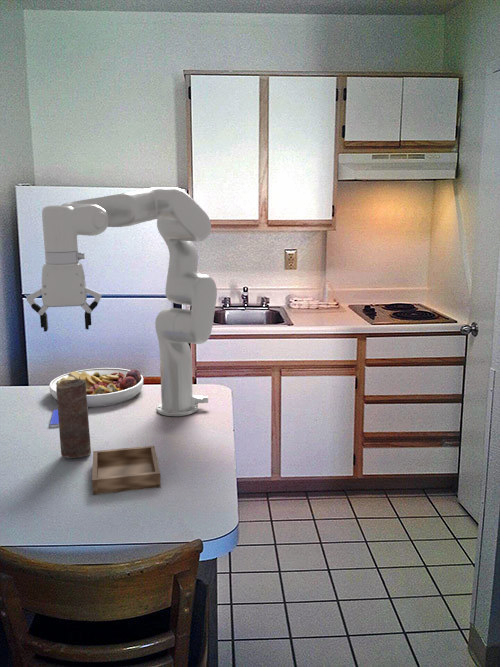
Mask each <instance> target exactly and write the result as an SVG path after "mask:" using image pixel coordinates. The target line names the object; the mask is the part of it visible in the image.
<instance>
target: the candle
mask: <svg viewBox="0 0 500 667" xmlns="http://www.w3.org/2000/svg"><path fill="white" fill-rule="evenodd" d="M56 391H57V400H56V401H57V410H58V417H59V427H58V432H59V445H60V454H61V457H63V458H69V459H77V458H78V459H79V458H83V457H88V456H89V455H91V454H92V449H91V434H90V423H89V422H90V421H89V410H88V408H89V407H87V394H86V381H85V380H84V379H74V380H63V381H61V382H60V383H59V384H58V385H57V386H56Z"/></svg>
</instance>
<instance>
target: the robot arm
mask: <svg viewBox="0 0 500 667" xmlns="http://www.w3.org/2000/svg"><path fill="white" fill-rule="evenodd" d="M41 217H42V220H41V221H42V232H43V233H42V234H43V246H44V258H45V259H44V260H45V264H43V265H42V269H41V288H40V289H38V290H36V291H34V292H33V293H31V294H29V295H27V296H26V297H25V298H26V301H27V303H28V304H29V306H30V307H31V309H32V310H33V311H35V312H36V313H37V314H38V315H39V319H40V321H39V322H40V328H41V329H42V328H43V332H46V333H47V331H48V330H49V322H48V314H47V313H46V312H47V310H48V309H49V308H63V307H64V308H66V307H69V308H70V307H81V308H82V309H83V310H84V327H85V330H90V328H89V327H90V326H92V312H93V311H94V310H95V309H96V308H97V306H98V305H99V303H100V301H101V299H102V293H101V292H99V291H96V290H93V289H91V288H89V287H87V285H86V277H85V272H84V271H85V270H84V267H83V264H82V263H81V262H80V261H82V260H85V258H86V257H85V253H81V252H79V249H78V247H79V246H78V236H89V237H91V236H93V237H94V236H99V235H100V234H102V233H103V232H105V231H106V230H107V228H124V227H130V226H135V225H139V224H141V223H146V222H149V221H154V220H156V227H157V230H158V233H159V234H160V236H161V238H162V239H163V240H164V242H165V244H166V246H167V250H168V252H169V258H168V259H169V260H168V268H167V276H166V283H165V291H164V292H165V297H166V299H167V300H168V301H169V302H171V303H172V304H178V305H184V306H191V309H184V308H177V307H168V308H164V309H162V310H160V311H159V313H158V314H157V315H156V318H155V322H154V323H155V324H154V325H155V332H156V336H157V340H158V347H159V348H158V349H159V363H160V364H159V365H160V368H159V369H160V370H159V371H160V395H161V398H160V399H161V402H159V404H157V405H156V411H157V413H158V414H159V415H162V416H167V417H185V416H189V415H191V414H194V413H196V412H197V411H198V409H199V404H208V403H209V397H208V396H203V395H196V394H194V390H193V365H192V363H193V359H192V358H193V357H192V356H193V354H192V349H191V347H190V345H189V344H192V345H193V344H196V345H202V344H204V343H206V342H207V341H208V339H209V338H210V337H211V335H212V334H211V333H212V331H213V325H214V319H215V318H214V317H215V314H216V313H215V312H216V305H217V298H218V297H217V296H218V290H217V289H218V288H217V284H216V282H215V280H214V278H212V276H210V275H207V274H202V273H198V266H199V255H198V250H197V248H196V246H195V244H194V243H195V242H202V241H205V240H207V238H209V236H210V235H211V231H212V222H211V220H210V219H211V218H210V217H209V216H208V213H206V211H205V210H204V209H203V208H202V207H201V206H200V204H198V203H197V202H196V201H195V199H193V197H191V196H190V195H189V194H188V193H187V192H186V191H184V190H183V189H181V188H179V187H172V186H171V187H161V186H160V187H159V186H155V187H149V188H148V187H147V188H144V189H142V188H141V189H138V190H134V191H129V192H124V193H117V194H112V195H105V196H100V197H95V198H94V197H93V198H86V199H81V200H76V201H71V202H65V203H62V204H61V205H48V206H47V205H46V206H45V207H43V208H42V210H41ZM193 242H194V243H193ZM79 262H80V263H79ZM88 295H90V296H92V297H94V299H93V301H91V303H90V304H89V303H88V302H87V299H88V297H87V296H88ZM40 296H41V299H42V300H41V301H42V302H41V303H42V306H40V305H39V304H38V303H37V302H36V300H35V299H37V298H38V297H40Z"/></svg>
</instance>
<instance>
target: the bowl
mask: <svg viewBox="0 0 500 667" xmlns="http://www.w3.org/2000/svg"><path fill="white" fill-rule="evenodd" d="M74 379H84V380H85V381H86V394H87V408H99V407H100V408H101V407H108V406H114V405H118V404H120V403H121V404H122V403H125V402H126V401H129V400H132V399H133V398H134V397H136V396H137V395H138V394H139V393H140V392H141V390H142V389H143V386H144V377H143V375H142V374H141V372H140V371H139V370H137V369H125V368H118V367H115V368H114V367H99V368H88V369H80V370H76V371H75V370H74V371H71V372H68V373H64V374H61V375H58V376H56V377H55V378H54V379H53V380H52V379H51V381H50V383H49V392H50V394H51V396H52V397H53V399H55V400H56V401H57V391H56V386H57V385H58V384H59V383H60V382H61V381H63V380H74Z"/></svg>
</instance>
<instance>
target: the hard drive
mask: <svg viewBox="0 0 500 667" xmlns="http://www.w3.org/2000/svg"><path fill="white" fill-rule="evenodd" d="M49 422H50V423H49V428H51V429H52V428H59V417H58V409H54V410H53V411H52V415H51V418H50V421H49Z"/></svg>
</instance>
